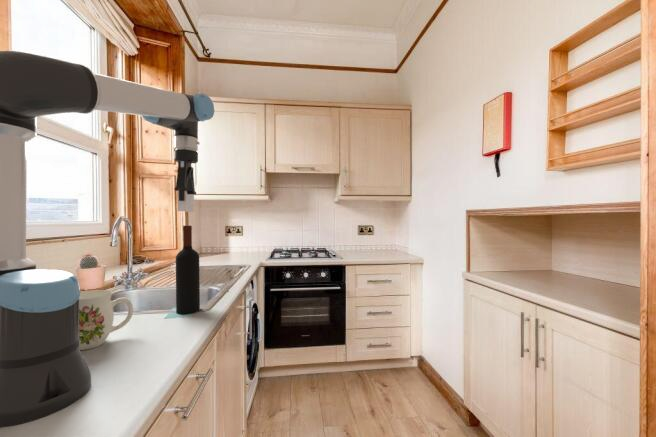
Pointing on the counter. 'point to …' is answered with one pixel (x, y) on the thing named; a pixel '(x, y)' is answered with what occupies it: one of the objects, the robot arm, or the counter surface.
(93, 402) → the counter surface
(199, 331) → the counter surface
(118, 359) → the counter surface
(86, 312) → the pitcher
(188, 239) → the wine bottle
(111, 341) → the counter surface
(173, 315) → the mat
